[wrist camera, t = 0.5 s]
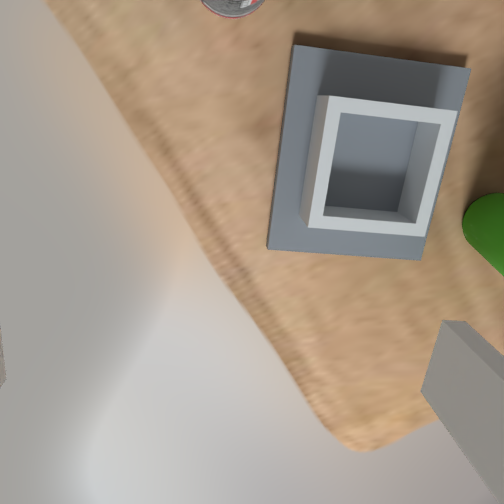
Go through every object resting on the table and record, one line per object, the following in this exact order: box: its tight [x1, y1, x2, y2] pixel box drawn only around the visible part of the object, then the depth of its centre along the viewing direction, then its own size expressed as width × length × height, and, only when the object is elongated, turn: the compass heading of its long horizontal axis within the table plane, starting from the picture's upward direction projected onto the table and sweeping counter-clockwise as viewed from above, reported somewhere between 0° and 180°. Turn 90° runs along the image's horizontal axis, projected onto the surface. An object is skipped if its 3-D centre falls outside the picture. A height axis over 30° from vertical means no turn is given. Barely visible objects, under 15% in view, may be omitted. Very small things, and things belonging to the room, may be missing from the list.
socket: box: [266, 45, 471, 261], centre depth 33 cm, size 16×14×4 cm
